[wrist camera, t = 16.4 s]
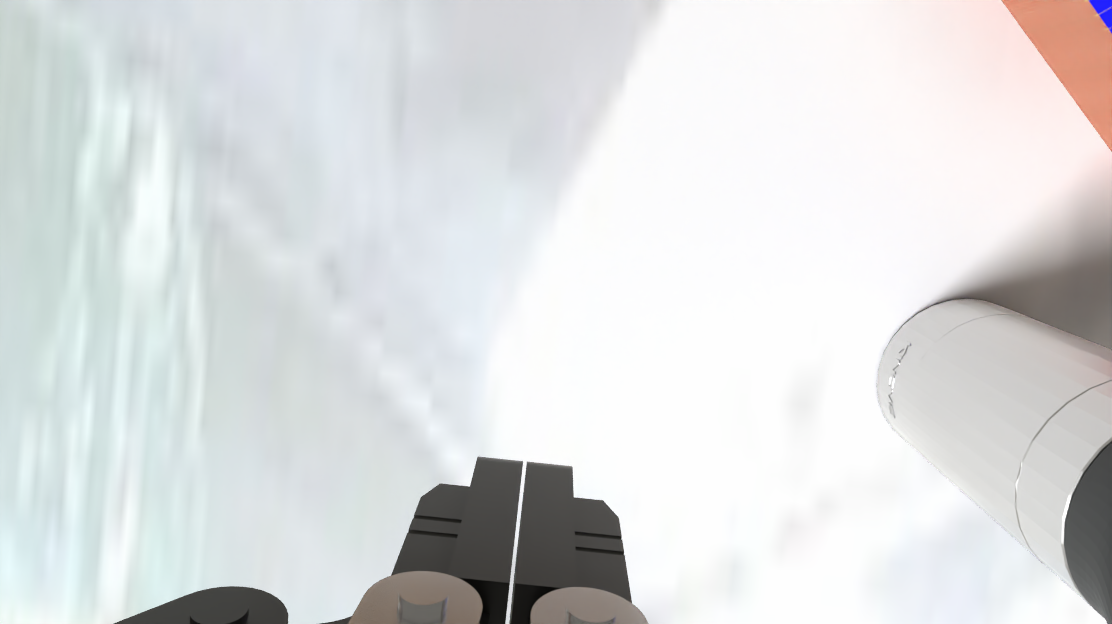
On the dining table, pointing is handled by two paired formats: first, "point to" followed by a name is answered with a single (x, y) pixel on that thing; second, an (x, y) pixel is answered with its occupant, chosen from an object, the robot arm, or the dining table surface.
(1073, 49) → the house
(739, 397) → the dining table surface
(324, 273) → the dining table surface
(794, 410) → the dining table surface
